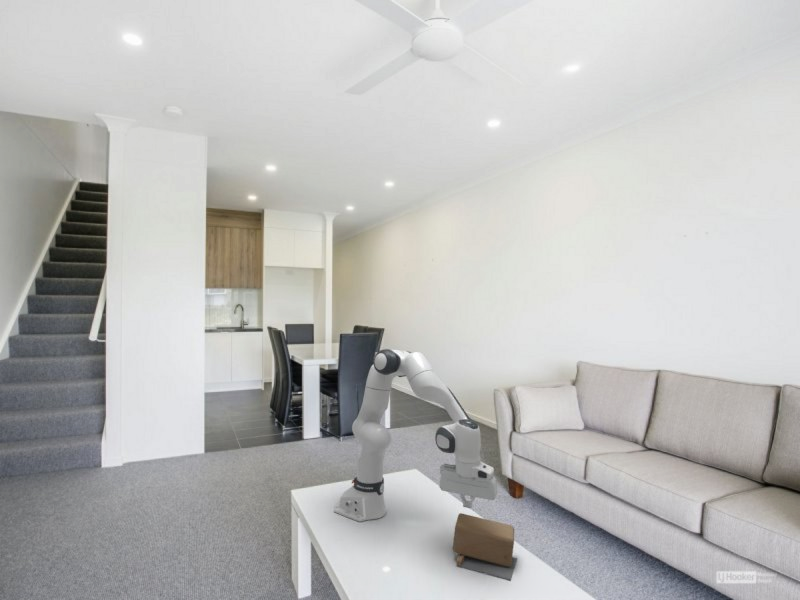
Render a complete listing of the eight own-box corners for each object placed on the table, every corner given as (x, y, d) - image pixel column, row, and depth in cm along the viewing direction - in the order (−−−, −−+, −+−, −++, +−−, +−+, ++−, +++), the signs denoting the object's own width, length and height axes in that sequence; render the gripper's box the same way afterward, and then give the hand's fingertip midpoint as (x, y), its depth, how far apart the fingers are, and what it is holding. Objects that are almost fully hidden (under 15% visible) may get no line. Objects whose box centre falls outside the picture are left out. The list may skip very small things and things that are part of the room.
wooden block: (451, 553, 149) (511, 569, 143) (455, 525, 148) (514, 539, 143) (455, 538, 158) (511, 552, 153) (458, 511, 158) (514, 524, 153)
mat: (456, 566, 145) (456, 560, 145) (466, 547, 157) (466, 541, 157) (510, 580, 138) (510, 574, 138) (517, 559, 150) (517, 553, 150)
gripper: (437, 465, 152) (436, 504, 152) (494, 475, 144) (494, 516, 144) (442, 460, 158) (442, 497, 158) (498, 469, 150) (498, 509, 149)
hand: (467, 507), depth 151 cm, fingers closed
